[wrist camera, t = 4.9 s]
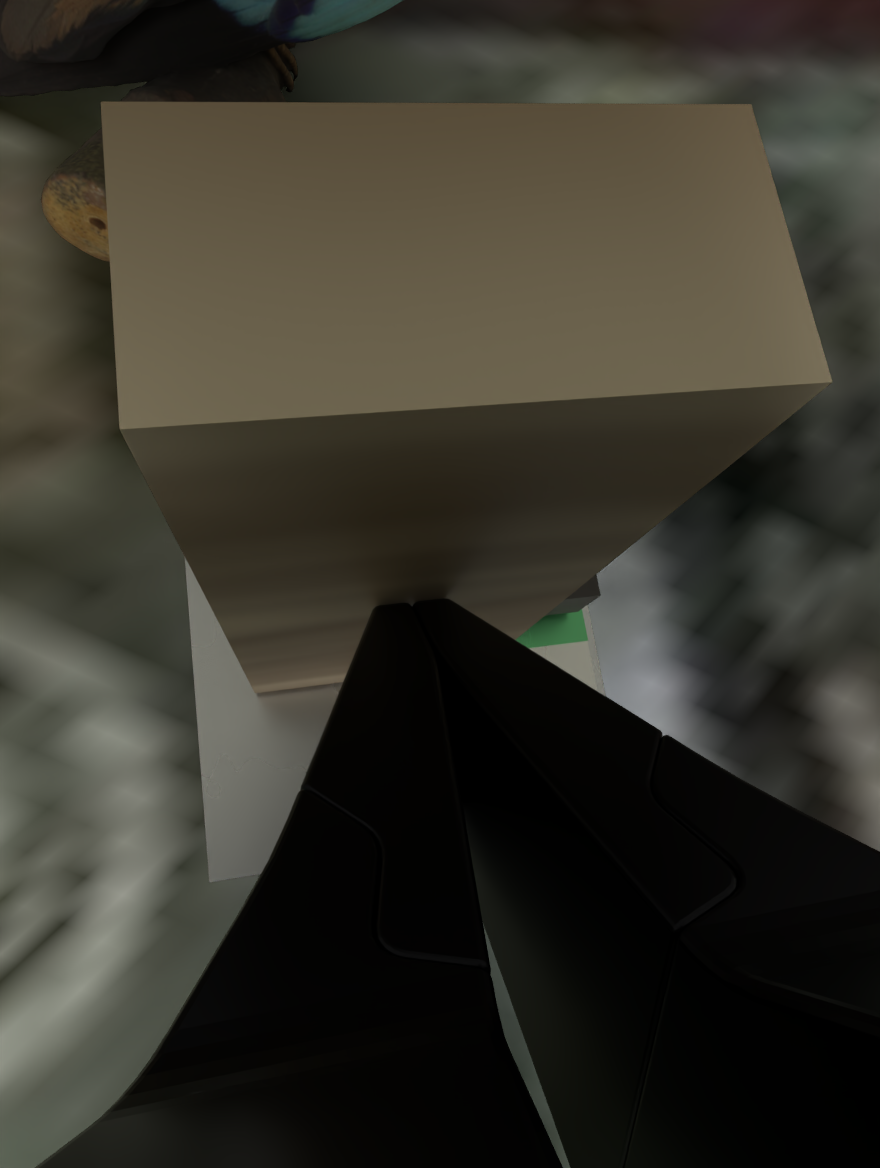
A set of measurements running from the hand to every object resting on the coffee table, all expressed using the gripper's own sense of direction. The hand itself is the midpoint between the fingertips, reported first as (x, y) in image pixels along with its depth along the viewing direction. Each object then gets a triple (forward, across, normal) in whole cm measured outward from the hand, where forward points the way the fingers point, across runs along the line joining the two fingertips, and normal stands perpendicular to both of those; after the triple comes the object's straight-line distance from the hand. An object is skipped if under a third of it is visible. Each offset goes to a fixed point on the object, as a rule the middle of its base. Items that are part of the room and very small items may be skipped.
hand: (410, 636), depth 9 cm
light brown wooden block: (+5, -1, +3) cm, 5 cm away
